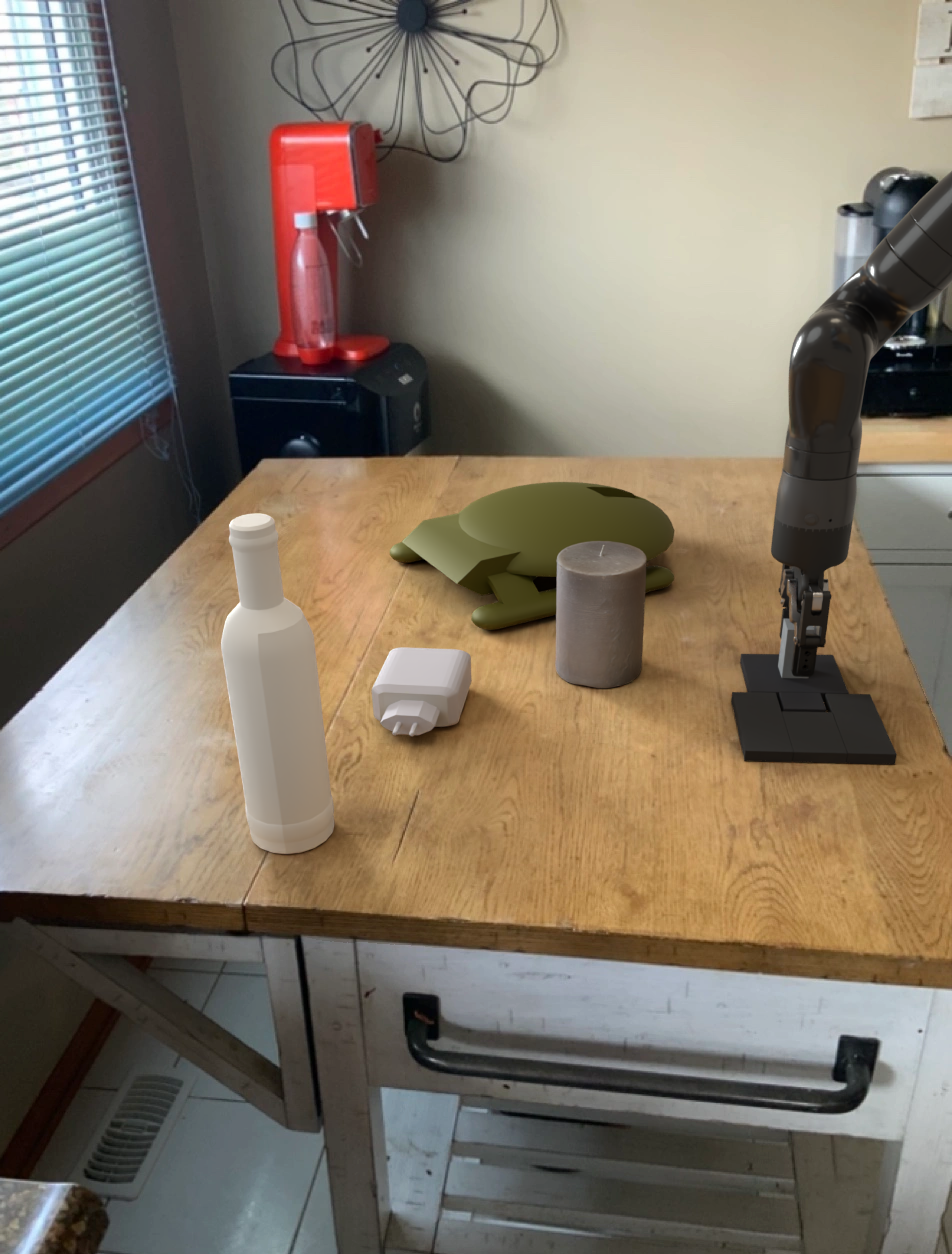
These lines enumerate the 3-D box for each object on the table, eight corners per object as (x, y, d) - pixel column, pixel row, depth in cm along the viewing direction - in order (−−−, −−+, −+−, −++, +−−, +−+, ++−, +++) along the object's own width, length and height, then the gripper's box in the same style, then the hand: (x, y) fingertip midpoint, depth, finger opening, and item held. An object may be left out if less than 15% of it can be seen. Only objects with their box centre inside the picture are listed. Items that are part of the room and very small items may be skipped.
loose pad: (831, 663, 126) (840, 606, 123) (854, 720, 116) (864, 659, 112) (739, 662, 128) (745, 606, 124) (753, 718, 117) (760, 657, 113)
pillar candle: (616, 644, 134) (621, 523, 126) (657, 679, 125) (664, 553, 118) (540, 660, 131) (541, 537, 124) (577, 696, 123) (580, 568, 116)
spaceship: (483, 638, 137) (481, 563, 132) (384, 558, 161) (379, 491, 157) (719, 579, 148) (725, 508, 144) (593, 512, 173) (595, 449, 168)
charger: (360, 752, 115) (391, 684, 128) (449, 758, 113) (471, 687, 126) (356, 712, 113) (388, 646, 126) (447, 717, 111) (470, 649, 124)
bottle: (333, 801, 108) (300, 499, 93) (338, 850, 101) (303, 532, 86) (249, 811, 107) (202, 508, 92) (249, 860, 100) (198, 542, 85)
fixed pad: (868, 703, 118) (870, 693, 118) (895, 764, 108) (897, 754, 107) (731, 701, 120) (732, 691, 120) (744, 761, 110) (745, 750, 109)
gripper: (867, 538, 107) (844, 689, 115) (839, 490, 119) (820, 629, 127) (785, 539, 108) (768, 688, 116) (765, 490, 120) (751, 628, 128)
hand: (795, 657), depth 122 cm, fingers open, 8 cm apart
